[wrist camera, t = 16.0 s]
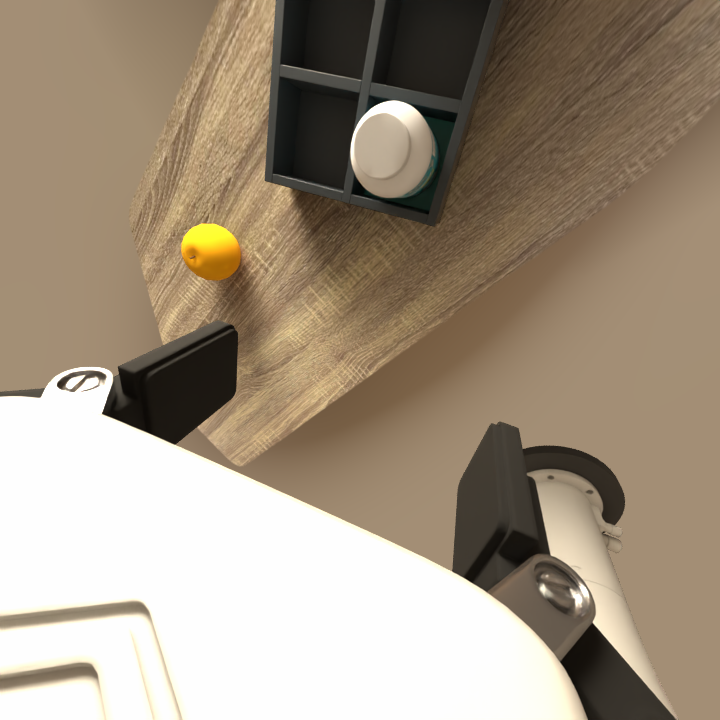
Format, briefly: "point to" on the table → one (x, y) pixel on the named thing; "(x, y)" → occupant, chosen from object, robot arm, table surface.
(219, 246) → the apple
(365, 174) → the pill bottle
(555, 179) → the table surface
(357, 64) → the divided storage tray
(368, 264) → the table surface
